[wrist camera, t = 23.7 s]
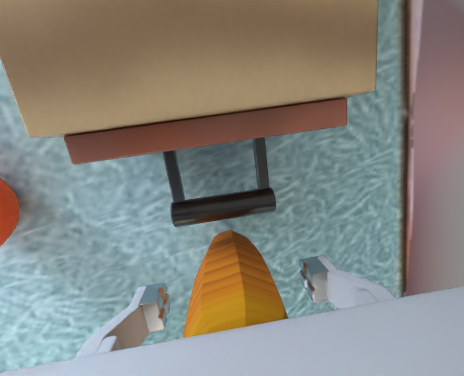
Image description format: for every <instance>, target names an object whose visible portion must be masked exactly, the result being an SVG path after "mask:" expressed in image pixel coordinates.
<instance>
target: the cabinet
mask: <svg viewBox="0 0 464 376" xmlns="http://www.w3.org/2000/svg"><path fill="white" fill-rule="evenodd" d="M377 32H378V0H0V60H1V63H2V65H3V68H4V71H5V74H6V76H7V79H8V82H9V85H10V87H11V90H12V93H13V96H14V98H15V101H16V104H17V107H18V109H19V112H20V115H21V118H22V120H23V123H24V126H25V129H26V131H27V134H28V136H29V137H31V138H46V137H48V138H54V137H64V136H66V135H73V134H80V133H87V132H95V131H102V130H109V129H116V128H124V127H131V126H138V125H146V124H153V123H160V122H168V121H175V120H182V119H190V118H197V117H204V116H212V115H219V114H226V113H234V112H241V111H248V110H256V109H263V108H270V107H278V106H285V105H292V104H299V103H307V102H314V101H321V100H329V99H336V98H343V97H345V98H351V97H355V96H358V95H361V94H365V93H369V92H373V91H374V90H375V89H376V67H377Z"/></svg>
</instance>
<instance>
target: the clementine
mask: <svg viewBox="0 0 464 376" xmlns="http://www.w3.org/2000/svg"><path fill="white" fill-rule="evenodd" d="M18 220H19V202H18V198H17V196H16V195H15V193H14V191H13V189H12V188H11V187H10V186H9V185H8V184H7V183H6V182H5V181H3V180H2V179H0V246H1V245H2V244H3V243H4V242H5V241H6V240H7V238H8V237H9V236H10V235H11V233H12V232H13V231H14V229H15V228H16V225H17V223H18Z"/></svg>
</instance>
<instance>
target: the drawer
mask: <svg viewBox="0 0 464 376" xmlns="http://www.w3.org/2000/svg"><path fill="white" fill-rule="evenodd" d="M345 125H347V98H345V97H343V98H336V99H329V100H321V101H314V102H307V103H299V104H292V105H285V106H278V107H270V108H263V109H256V110H248V111H241V112H234V113H226V114H219V115H212V116H204V117H197V118H190V119H182V120H175V121H168V122H160V123H153V124H146V125H138V126H131V127H124V128H116V129H109V130H102V131H95V132H87V133H80V134H73V135H66V136H64V140H65V143H66V146H67V149H68V152H69V156H70V159H71V162H72V164H82V163H89V162H96V161H103V160H110V159H117V158H124V157H131V156H138V155H145V154H152V153H159V152H163V156H164V160H165V165H166V170H167V174H168V179H169V184H170V188H171V193H172V198H173V202H172V203H171V219H172V222H173V225H174V226H175V227H180V226H187V225H193V224H199V223H205V222H212V221H218V220H224V219H230V218H237V217H243V216H249V215H255V214H262V213H268V212H274V211H275V210H276V199H275V195H274V192H273V189H272V188H271V187H269V179H268V169H267V159H266V148H265V138H264V137H270V136H277V135H284V134H291V133H298V132H305V131H312V130H319V129H326V128H333V127H340V126H345ZM249 139H252V140H253V149H254V158H255V167H256V176H257V186H258V188H259V189H253V190H247V191H240V192H234V193H227V194H221V195H214V196H208V197H201V198H195V199H188V200H185V196H184V191H183V186H182V181H181V176H180V171H179V166H178V161H177V156H176V151H175V150H180V149H187V148H193V147H200V146H207V145H214V144H221V143H228V142H235V141H242V140H249Z"/></svg>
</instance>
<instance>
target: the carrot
mask: <svg viewBox="0 0 464 376" xmlns="http://www.w3.org/2000/svg"><path fill="white" fill-rule="evenodd" d="M283 319H288V316H287V313H286V311H285V308H284V305H283V302H282V299H281V297H280V294H279V292H278V290H277V288H276V285H275V283H274V281H273V278H272V276H271V274H270V272H269V270H268V268H267V266H266V264H265V262H264V260H263V257H262V255H261V254H260V253H259V251H258V250H257V249H256V247H255V246H254V245H253V244H252V243H251V241H250V240H249V239H248V238H246V237H244V236H243V235H241V234H238V233H236V232H233V231H231V230H228V231H226V232H223V233H220V234H218V235H217V236H215V237H214V239H213V241H212V243H211V245H210V247H209V249H208V251H207V253H206V255H205V257H204V259H203V261H202V263H201V266H200V268H199V270H198V273H197V275H196V278H195V281H194V286H193V290H192V294H191V298H190V303H189V308H188V313H187V318H186V323H185V328H184V335H183V338H186V337H192V336H197V335H202V334H208V333H213V332H219V331H224V330H229V329H235V328H240V327H246V326H251V325H256V324H262V323H267V322H272V321H278V320H283Z"/></svg>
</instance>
